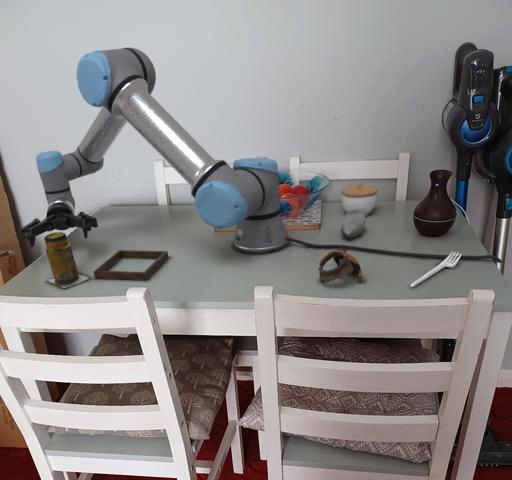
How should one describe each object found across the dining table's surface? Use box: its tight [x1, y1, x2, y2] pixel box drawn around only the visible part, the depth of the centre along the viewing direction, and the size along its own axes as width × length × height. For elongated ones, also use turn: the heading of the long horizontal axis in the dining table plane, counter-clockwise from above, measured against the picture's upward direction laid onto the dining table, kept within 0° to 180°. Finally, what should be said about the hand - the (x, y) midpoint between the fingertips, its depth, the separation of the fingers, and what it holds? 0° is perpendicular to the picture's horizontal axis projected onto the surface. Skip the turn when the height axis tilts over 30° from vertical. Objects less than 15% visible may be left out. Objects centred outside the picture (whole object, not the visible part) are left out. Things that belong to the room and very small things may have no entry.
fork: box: [410, 251, 463, 288], centre depth 122 cm, size 3×20×2 cm, turn 134°
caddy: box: [93, 249, 169, 281], centre depth 139 cm, size 15×15×2 cm
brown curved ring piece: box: [318, 248, 364, 283], centre depth 123 cm, size 12×10×8 cm
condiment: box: [43, 231, 90, 289], centre depth 133 cm, size 7×8×12 cm
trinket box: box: [341, 182, 378, 217], centre depth 160 cm, size 11×11×9 cm
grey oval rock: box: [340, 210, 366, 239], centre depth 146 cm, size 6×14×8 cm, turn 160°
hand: (58, 237), depth 136 cm, fingers open, 13 cm apart
